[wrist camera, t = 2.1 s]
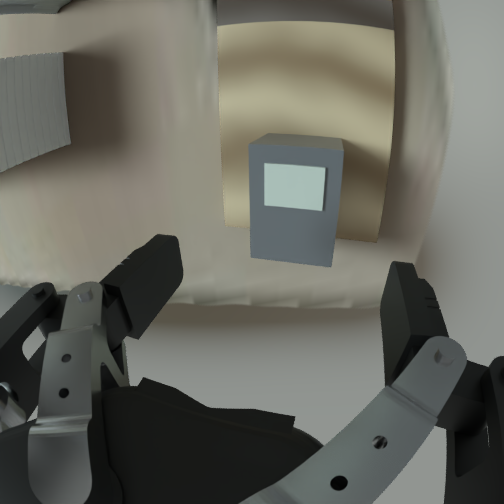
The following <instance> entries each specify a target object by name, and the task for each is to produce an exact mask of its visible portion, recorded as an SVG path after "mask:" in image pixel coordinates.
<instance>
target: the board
mask: <svg viewBox="0 0 504 504" xmlns="http://www.w3.org/2000/svg"><path fill="white" fill-rule="evenodd" d="M217 27H218V78H219V110H220V135H221V158H222V178H223V197H224V214H225V226H230V227H241V228H250V200H249V151H248V144H249V143H251V142H253V141H255V140H257V139H258V138H260V137H262V136H264V135H266V134H267V133H276V134H296V135H311V136H323V137H334V138H341V140H342V144H343V149H344V156H343V170H342V181H341V192H340V202H339V212H338V220H337V229H336V237H335V238H341V239H350V240H358V241H366V242H374V243H377V239H378V234H379V228H380V223H381V217H382V211H383V205H384V199H385V192H386V185H387V178H388V170H389V162H390V152H391V142H392V130H393V116H394V94H395V43H394V17H393V5H392V0H217Z"/></svg>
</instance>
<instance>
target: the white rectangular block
mask: <svg viewBox="0 0 504 504" xmlns="http://www.w3.org/2000/svg"><path fill="white" fill-rule="evenodd" d="M69 144H71V139H70V132H69V125H68V117H67V108H66V97H65V85H64V65H63V52H59V53H51V54H50V53H45V54H37V55H36V54H32V55H29V56H28V55H23V56H15V57H14V58H13V57H8V58H6V59H5V58H2V59H0V173H1V172H3V171H5V170H7V169H9V168H11V167H14V166H15V165H18V164H20V163H23V162H25V161H27V160H30V159H32V158H34V157H37V156H39V155H42V154H44V153H47V152H49V151H52V150H55V149H57V148H60V147H63V146H65V145H69Z"/></svg>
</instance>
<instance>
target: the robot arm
mask: <svg viewBox="0 0 504 504" xmlns="http://www.w3.org/2000/svg"><path fill="white" fill-rule="evenodd" d="M70 1H71V0H0V15H1V14H24V13H39V14H56V13H57V12H58V10H59V9H60V8H61V7H62V6H64V5H65V4H67V3H69V2H70ZM182 279H183V266H182V260H181V254H180V248H179V242H178V239H177V237H176V236H172V235H162V234H157V235H156V236H154V237H153V238H152V239H151V240H150V241H149V242H147V243H146V244H145V245H144V246H142V247H140V248H138V249H136V250H134V251H133V252H132V253H131V254H130V255H129V256H128V257H127V259H124V260H123V261H122V262H121V263H120V265H118V266H117V267H115V268H114V269H113V270H112V271H111V272H110V273H109V274H108V275H107V276H106V277H105V278H104V279H103V280H101V281H100V282H99V283H97V282H85V283H82V284H80V285H78V286H76V287H75V288H73V289H72V290H71V291H70V292H69V294H68V295H58V294H57V292H56V290H55V288H54V285H53V284H52V283H49V282H44V283H40V284H38V285H36V286H34V287H32V288H31V289H30V290H29V291H28V292H27V293H26V294H25V295H24V296H23V297H21V298H20V299H19V300H18V301H17V302H16V304H14V305H13V306H12V307H11V308H10V309H9V310H8V311H7V312H6V313H5V314H4V315H3V316H2V317H1V318H0V504H372V503H373V502H374V501H375V500H376V499H377V498H378V497H379V496H380V495H381V493H383V491H384V490H385V489H386V488H387V487H388V486H389V485H390V484H391V483H392V481H393V480H394V479H395V478H396V477H397V476H398V474H399V473H400V472H401V471H402V470H403V468H404V467H405V466H406V465H407V463H408V462H409V461H410V460H411V458H412V457H413V456H414V454H415V453H416V452H417V450H418V449H419V448H420V446H421V445H422V443H423V442H424V441H425V439H426V438H427V436H428V435H429V434H430V432H431V431H432V429H433V428H434V426H438V427H441V428H444V429H446V437H447V462H446V484H445V496H444V497H445V498H444V504H504V356H500V357H497V358H495V359H494V360H493V361H492V363H491V364H490V365H489V367H486V366H483V365H480V364H477V363H474V362H471V361H468V360H467V356H466V353H465V351H464V349H463V348H462V347H461V345H460V344H459V343H457V342H456V341H455V340H453V339H451V338H449V335H448V332H447V329H446V325H445V322H444V320H443V316H442V313H441V310H440V309H439V304H438V301H436V295H435V293H434V290H433V288H432V287H431V286H430V285H429V283H428V282H427V281H426V280H425V279H420V278H418V276H417V273H416V270H415V267H414V265H413V264H412V263H405V262H397V261H393V262H392V263H391V266H390V269H389V273H388V277H387V281H386V284H385V288H384V292H383V295H382V299H381V306H380V317H381V327H382V338H383V353H384V373H385V388H384V389H383V390H382V391H381V392H380V393H379V394H378V395H377V396H376V397H375V398H374V399H373V400H372V401H371V402H370V403H369V404H368V405H367V406H366V407H365V409H363V411H362V412H360V413H359V414H358V415H357V416H356V417H355V418H354V419H353V421H351V422H350V423H349V424H348V425H347V426H346V427H345V428H344V429H343V430H342V431H341V432H339V433H338V434H337V435H336V436H335V437H334V438H333V439H332V440H331V441H329V442H328V443H327V444H326V445H325V446H324V445H322V444H321V443H320V442H319V441H318V440H317V439H315V438H314V437H312V436H311V435H309V434H307V433H305V432H304V431H302V430H300V429H297V428H294V427H293V425H294V421H295V416H289V415H283V414H278V413H272V412H267V411H262V410H256V409H224V408H223V409H222V408H210V407H207V406H205V405H203V404H201V403H199V402H198V401H196V400H194V399H193V398H191V397H189V396H188V395H186V394H184V393H183V392H181V391H179V390H178V389H176V388H173V387H171V386H168V385H165V384H162V383H159V382H156V381H153V380H150V379H147V378H144V377H143V378H142V380H141V382H140V383H139V385H138V386H130V383H129V375H128V366H127V356H126V346H125V343H124V340H123V339H124V338H125V337H126V336H129V337H132V338H135V339H139V338H140V337H141V336H142V334H143V333H144V331H145V330H146V329H147V327H148V326H149V325H150V323H151V322H152V321H153V320H154V318H155V317H156V316H157V314H158V313H159V312H160V310H161V309H162V308H163V306H164V305H165V304H166V302H167V301H168V300H169V299H170V297H171V296H172V295H173V293H174V292H175V291H176V289H177V288H178V287H179V286H180V284H181V282H182ZM37 326H38V327H39V329H40V330H41V332H42V334H43V336H44V337H45V339H46V340H45V341H44V342H43V343H42V345H41V346H40V347H39V348H38V350H37V351H36V352H35V353H34V354H33V356H32V357H31V358H30V359H29V361H28V360H27V359H26V357H25V356H24V354H23V351H22V345H23V343H24V341H25V340H26V339H27V338H28V336H29V335H30V334H31V333H32V332H33V331H34V329H36V327H37ZM37 405H38V414H37V418H36V419H34V420H32V421H28V422H27V420H28V419H29V417H30V416H31V414H32V413H33V411H34V410H35V408H36V407H37ZM487 426H488V432H487ZM488 436H489V443H488Z"/></svg>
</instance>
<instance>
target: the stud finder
mask: <svg viewBox="0 0 504 504" xmlns="http://www.w3.org/2000/svg"><path fill="white" fill-rule="evenodd" d="M248 151H249V200H250V248H251V258H259V259H267V260H275V261H283V262H291V263H299V264H307V265H316V266H324V267H331V266H332V259H333V252H334V244H335V237H336V229H337V220H338V212H339V202H340V192H341V181H342V170H343V156H344V149H343V144H342V140H341V138H334V137H323V136H311V135H296V134H276V133H267V134H266V135H264V136H262V137H260V138H258V139H257V140H255V141H253V142H251V143H249V144H248Z"/></svg>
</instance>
